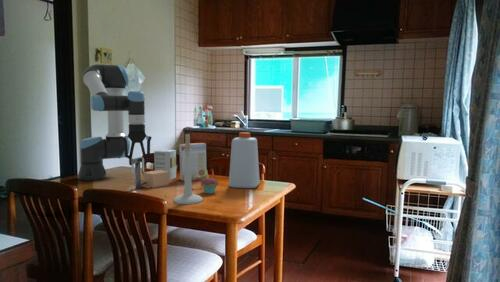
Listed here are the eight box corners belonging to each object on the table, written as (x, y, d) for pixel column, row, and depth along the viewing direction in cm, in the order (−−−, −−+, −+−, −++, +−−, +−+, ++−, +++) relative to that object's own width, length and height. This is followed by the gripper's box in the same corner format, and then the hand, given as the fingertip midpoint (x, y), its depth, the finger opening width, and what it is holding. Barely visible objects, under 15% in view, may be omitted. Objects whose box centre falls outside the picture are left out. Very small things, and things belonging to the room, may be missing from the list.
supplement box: (169, 182, 204) (169, 151, 202) (154, 181, 205) (153, 151, 204) (176, 178, 213) (176, 149, 211) (161, 177, 215) (161, 149, 213)
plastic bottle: (233, 181, 205) (233, 131, 202) (260, 183, 202) (261, 131, 199) (227, 187, 190) (227, 133, 187) (256, 189, 187) (256, 134, 185)
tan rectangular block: (140, 186, 187) (140, 172, 187) (159, 182, 196) (159, 169, 196) (150, 188, 182) (150, 174, 182) (169, 184, 191) (169, 171, 191)
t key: (131, 190, 178) (130, 159, 177) (142, 186, 187) (141, 156, 186) (135, 190, 177) (134, 159, 176) (146, 186, 186) (146, 156, 185)
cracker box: (203, 178, 214) (203, 142, 212) (206, 180, 208) (206, 143, 206) (179, 180, 208) (179, 143, 206) (182, 182, 202) (181, 144, 200)
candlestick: (200, 196, 172) (199, 132, 170) (204, 203, 160) (204, 134, 157) (172, 198, 169) (171, 132, 166) (174, 205, 157) (173, 134, 154)
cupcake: (210, 195, 174) (210, 170, 173) (196, 192, 179) (196, 168, 178) (221, 191, 182) (221, 167, 180) (207, 189, 186) (207, 165, 185)
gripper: (118, 124, 172) (119, 174, 174) (156, 123, 178) (157, 171, 181) (117, 123, 179) (118, 171, 181) (154, 122, 185) (154, 169, 187)
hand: (138, 171), depth 181 cm, fingers closed on t key, 4 cm apart
